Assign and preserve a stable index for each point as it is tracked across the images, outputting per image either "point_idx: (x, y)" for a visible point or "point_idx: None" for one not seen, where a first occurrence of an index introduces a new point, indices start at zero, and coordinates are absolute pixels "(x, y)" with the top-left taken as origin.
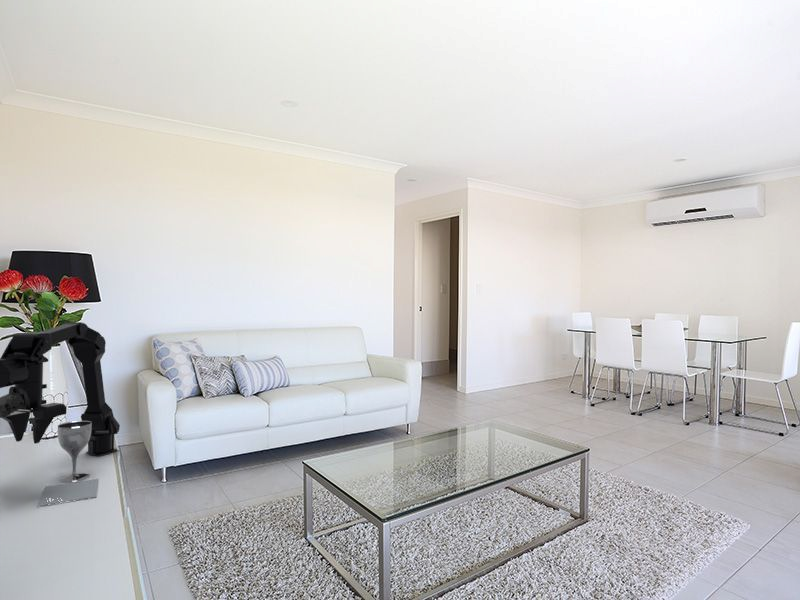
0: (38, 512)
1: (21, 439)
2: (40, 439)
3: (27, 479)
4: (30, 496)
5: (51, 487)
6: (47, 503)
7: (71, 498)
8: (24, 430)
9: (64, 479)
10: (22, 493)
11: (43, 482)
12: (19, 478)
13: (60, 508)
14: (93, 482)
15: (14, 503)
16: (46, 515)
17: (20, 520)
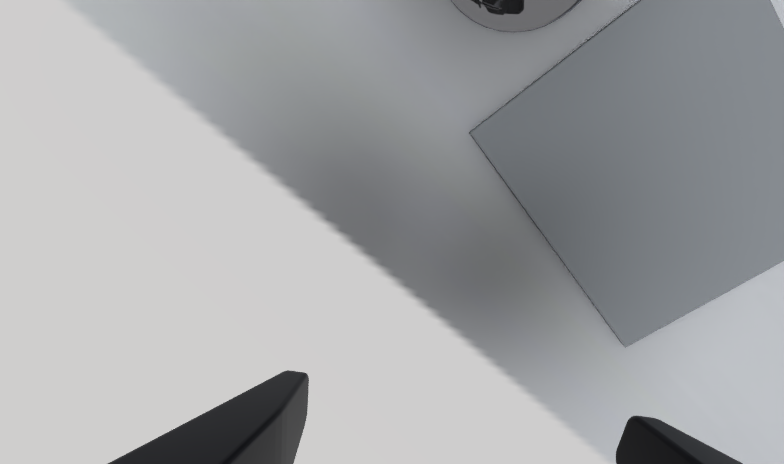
0: (664, 380)
1: (307, 387)
2: (697, 447)
3: (249, 31)
4: (490, 246)
5: (520, 140)
6: (654, 319)
7: (740, 255)
8: (243, 454)
9: (501, 2)
10: (417, 221)
11: (390, 58)
12: (185, 25)
13: (739, 338)
14: (739, 11)
15: (483, 321)
16: (720, 398)
17: None
